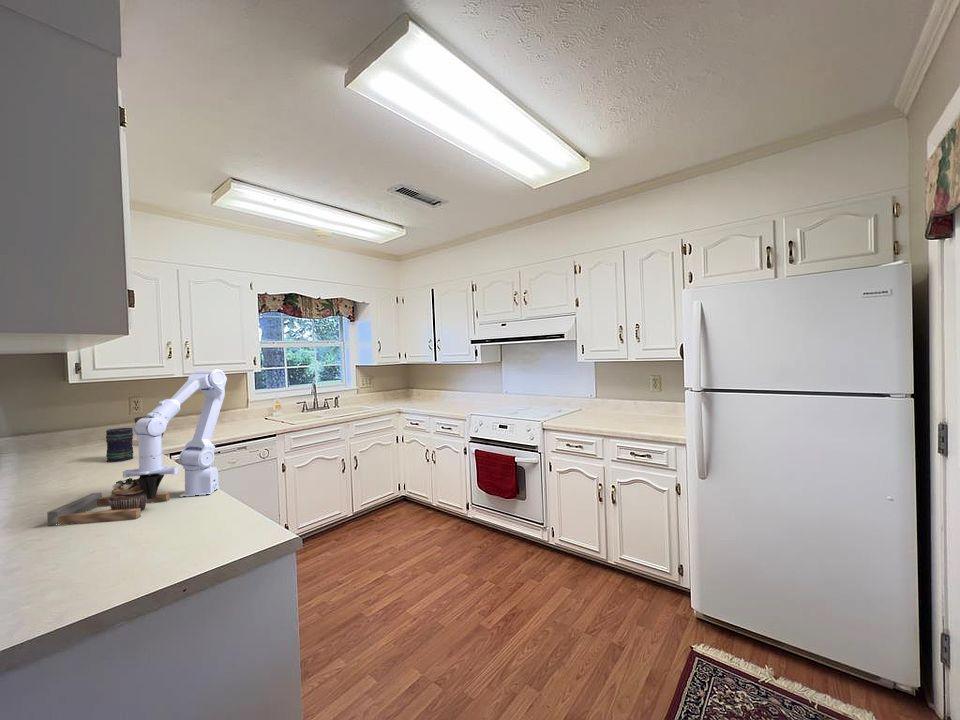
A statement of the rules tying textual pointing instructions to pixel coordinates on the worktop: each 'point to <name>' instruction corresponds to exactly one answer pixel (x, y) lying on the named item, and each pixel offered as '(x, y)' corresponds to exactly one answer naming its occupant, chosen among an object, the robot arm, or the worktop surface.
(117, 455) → the storage jar
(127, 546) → the worktop surface
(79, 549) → the worktop surface
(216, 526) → the worktop surface
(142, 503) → the cupcake
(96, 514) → the guide track
